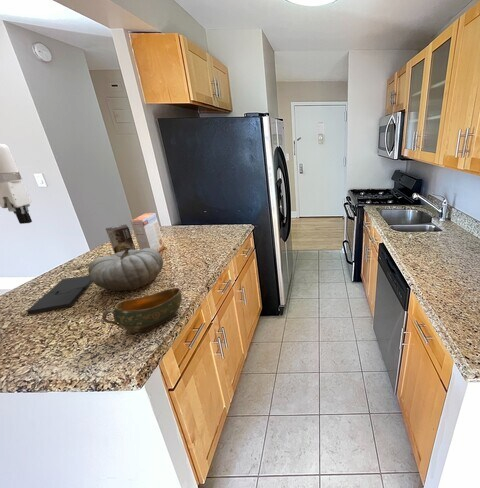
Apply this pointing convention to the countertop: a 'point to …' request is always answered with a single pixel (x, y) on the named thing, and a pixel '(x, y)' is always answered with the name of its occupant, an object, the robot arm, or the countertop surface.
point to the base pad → (55, 301)
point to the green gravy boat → (145, 311)
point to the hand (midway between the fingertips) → (26, 222)
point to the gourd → (126, 269)
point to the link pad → (71, 284)
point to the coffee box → (120, 238)
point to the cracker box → (148, 232)
